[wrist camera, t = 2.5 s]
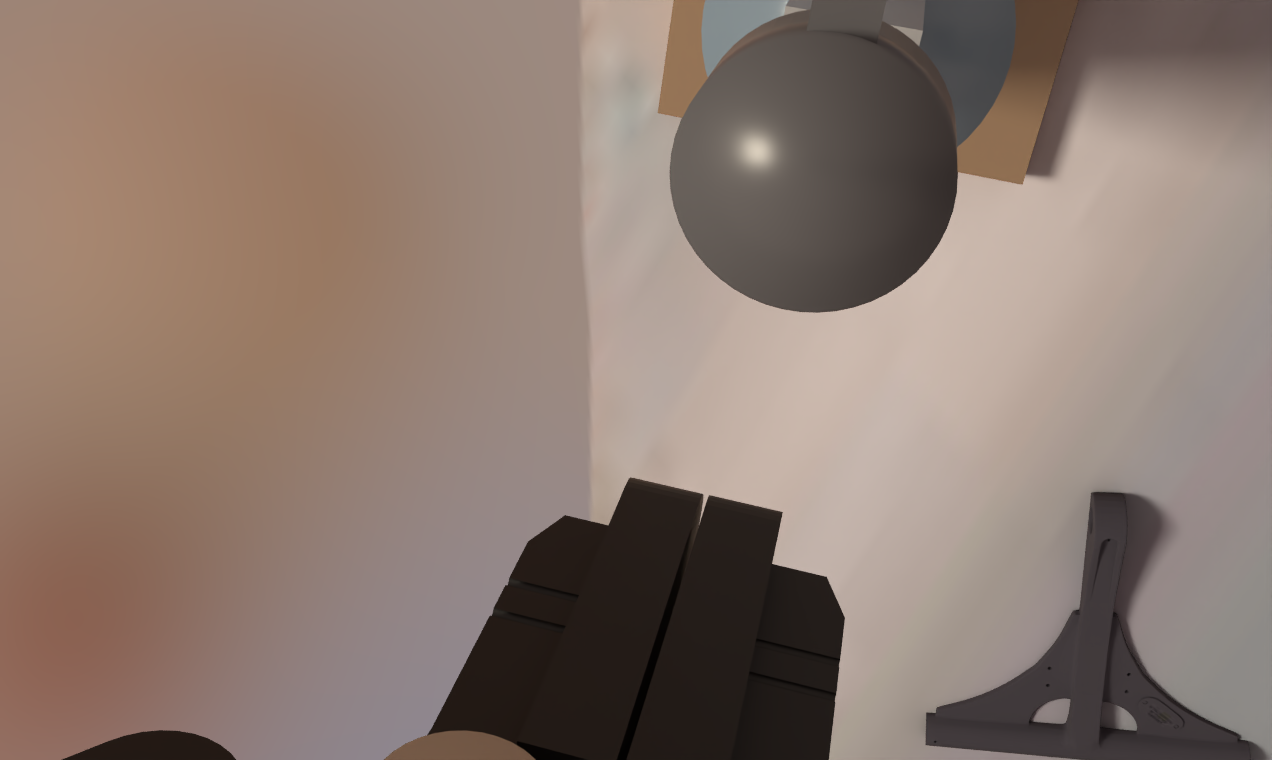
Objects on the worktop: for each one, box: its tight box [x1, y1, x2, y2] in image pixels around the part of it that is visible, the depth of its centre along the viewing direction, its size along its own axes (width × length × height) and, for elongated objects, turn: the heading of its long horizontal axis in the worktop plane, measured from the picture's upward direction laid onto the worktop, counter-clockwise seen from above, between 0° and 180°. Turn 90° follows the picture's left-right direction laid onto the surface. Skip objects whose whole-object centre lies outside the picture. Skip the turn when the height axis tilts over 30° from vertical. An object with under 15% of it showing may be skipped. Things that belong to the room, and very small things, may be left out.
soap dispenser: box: [658, 0, 1079, 184], centre depth 35 cm, size 14×14×19 cm
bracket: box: [926, 493, 1250, 760], centre depth 54 cm, size 14×15×3 cm
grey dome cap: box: [670, 0, 958, 312], centre depth 23 cm, size 5×8×7 cm, turn 172°
